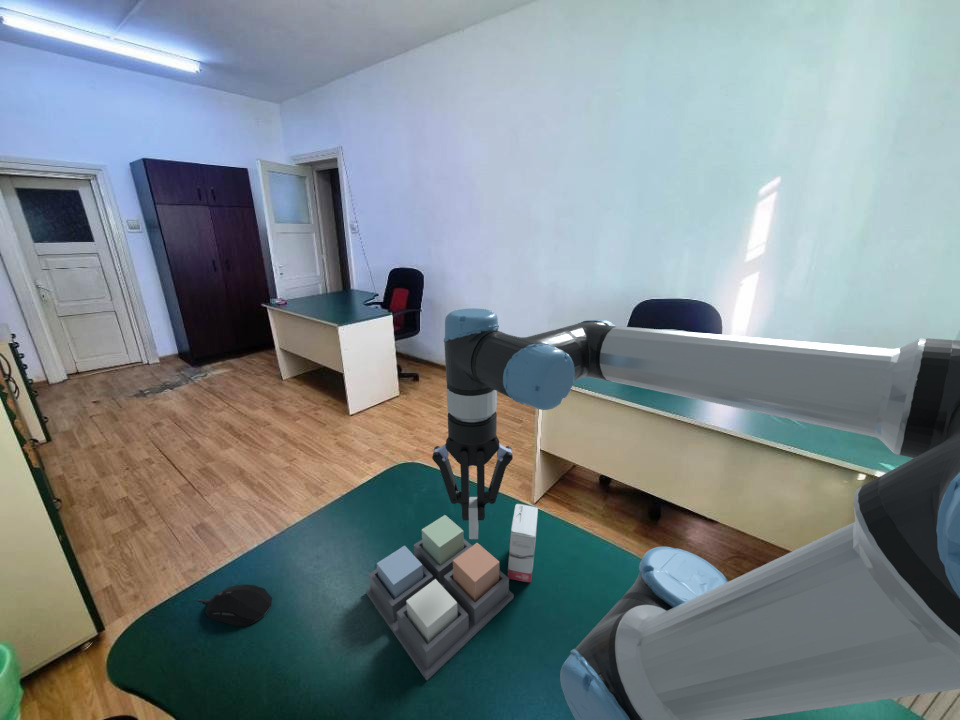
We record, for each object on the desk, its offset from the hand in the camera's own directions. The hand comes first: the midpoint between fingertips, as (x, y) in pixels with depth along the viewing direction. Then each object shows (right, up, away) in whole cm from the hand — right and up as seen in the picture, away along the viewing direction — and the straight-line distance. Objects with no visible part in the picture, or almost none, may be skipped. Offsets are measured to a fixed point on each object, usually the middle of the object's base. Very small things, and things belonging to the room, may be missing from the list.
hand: (473, 532), depth 65 cm
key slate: (-14, -12, +6) cm, 19 cm away
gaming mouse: (-45, -16, +5) cm, 48 cm away
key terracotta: (0, -11, +5) cm, 12 cm away
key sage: (-6, -9, +12) cm, 16 cm away
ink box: (+10, -13, +13) cm, 21 cm away
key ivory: (-7, -15, -1) cm, 16 cm away
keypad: (-7, -15, +6) cm, 18 cm away
